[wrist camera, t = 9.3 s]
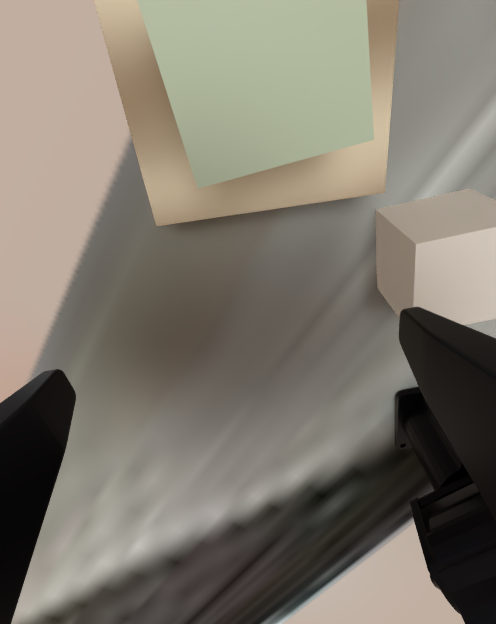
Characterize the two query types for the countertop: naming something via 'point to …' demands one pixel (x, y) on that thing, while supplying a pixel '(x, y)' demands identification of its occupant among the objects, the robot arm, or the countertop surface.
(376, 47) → the birch block
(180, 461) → the countertop surface
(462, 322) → the white cube
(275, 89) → the sage cube
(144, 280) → the countertop surface
